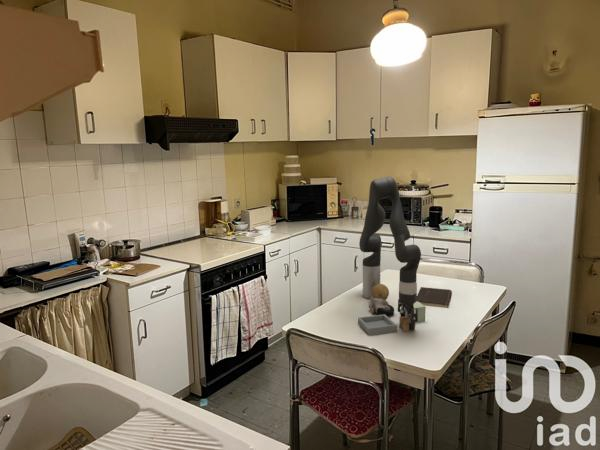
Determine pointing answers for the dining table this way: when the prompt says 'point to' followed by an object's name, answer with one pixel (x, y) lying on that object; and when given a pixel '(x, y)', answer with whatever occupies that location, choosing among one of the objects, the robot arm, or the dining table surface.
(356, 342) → the dining table surface
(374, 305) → the caster wheel
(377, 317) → the grey tray
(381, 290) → the natural sponge
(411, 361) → the dining table surface
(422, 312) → the sage block
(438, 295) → the hardcover book
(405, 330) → the walnut block
